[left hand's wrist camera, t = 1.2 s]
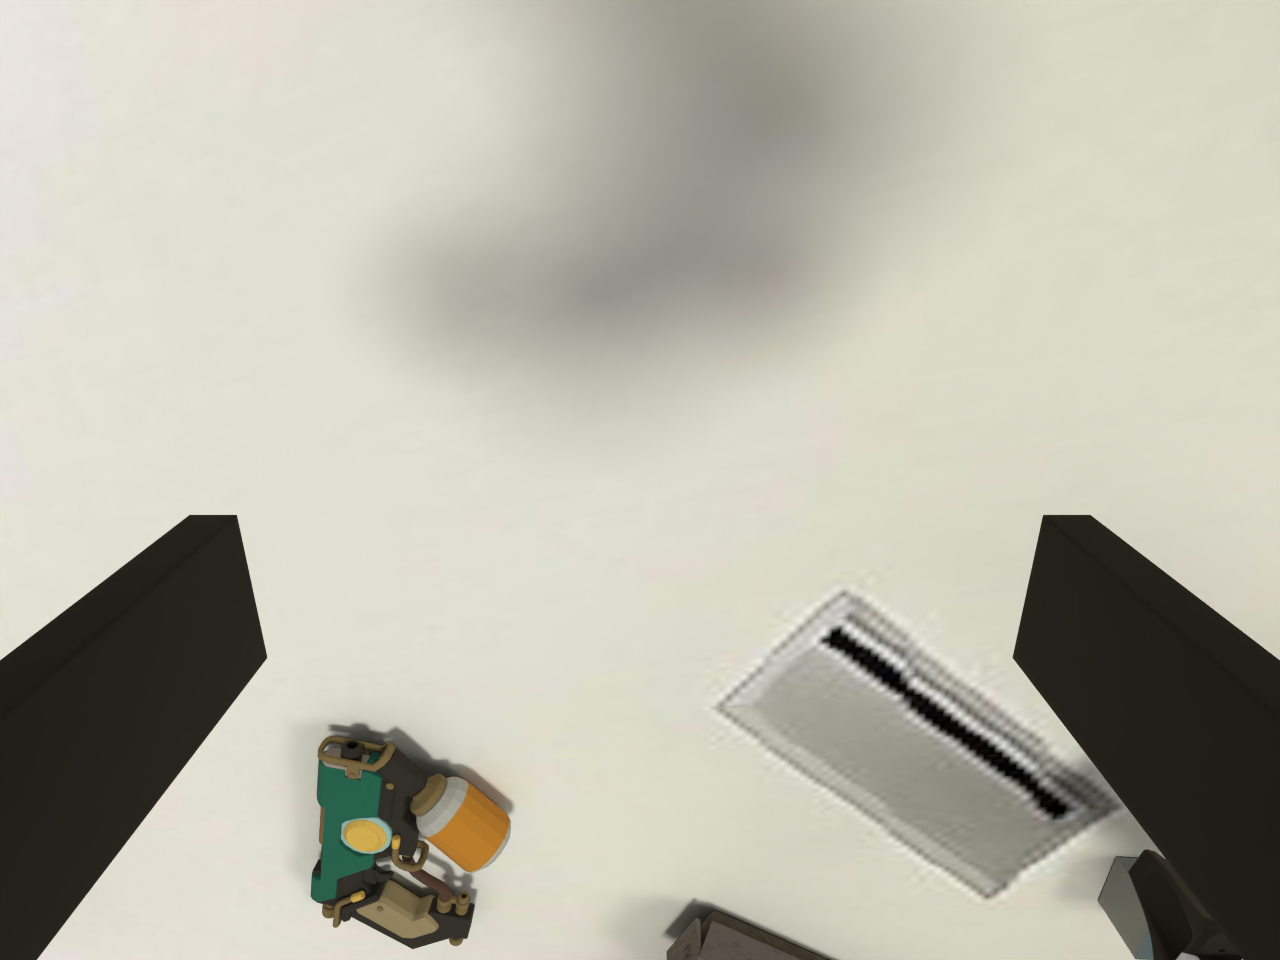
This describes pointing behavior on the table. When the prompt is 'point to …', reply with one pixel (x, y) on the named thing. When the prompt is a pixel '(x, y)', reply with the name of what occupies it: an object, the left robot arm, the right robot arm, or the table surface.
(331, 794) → the spray gun
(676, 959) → the toy
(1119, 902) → the brick
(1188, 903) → the right robot arm
